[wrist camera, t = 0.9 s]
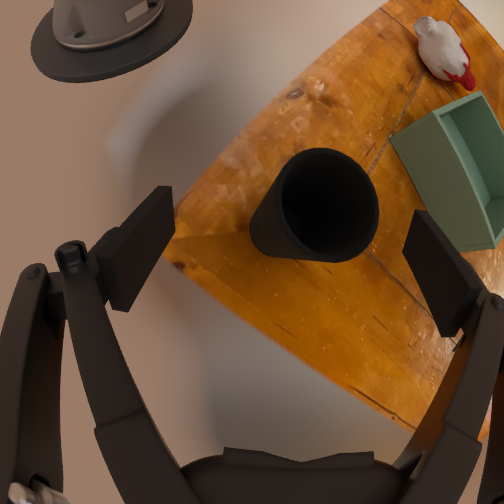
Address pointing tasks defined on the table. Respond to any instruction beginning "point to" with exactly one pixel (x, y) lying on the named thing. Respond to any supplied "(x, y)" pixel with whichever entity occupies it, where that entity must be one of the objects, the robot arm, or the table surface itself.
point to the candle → (443, 52)
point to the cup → (317, 209)
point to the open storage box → (459, 170)
